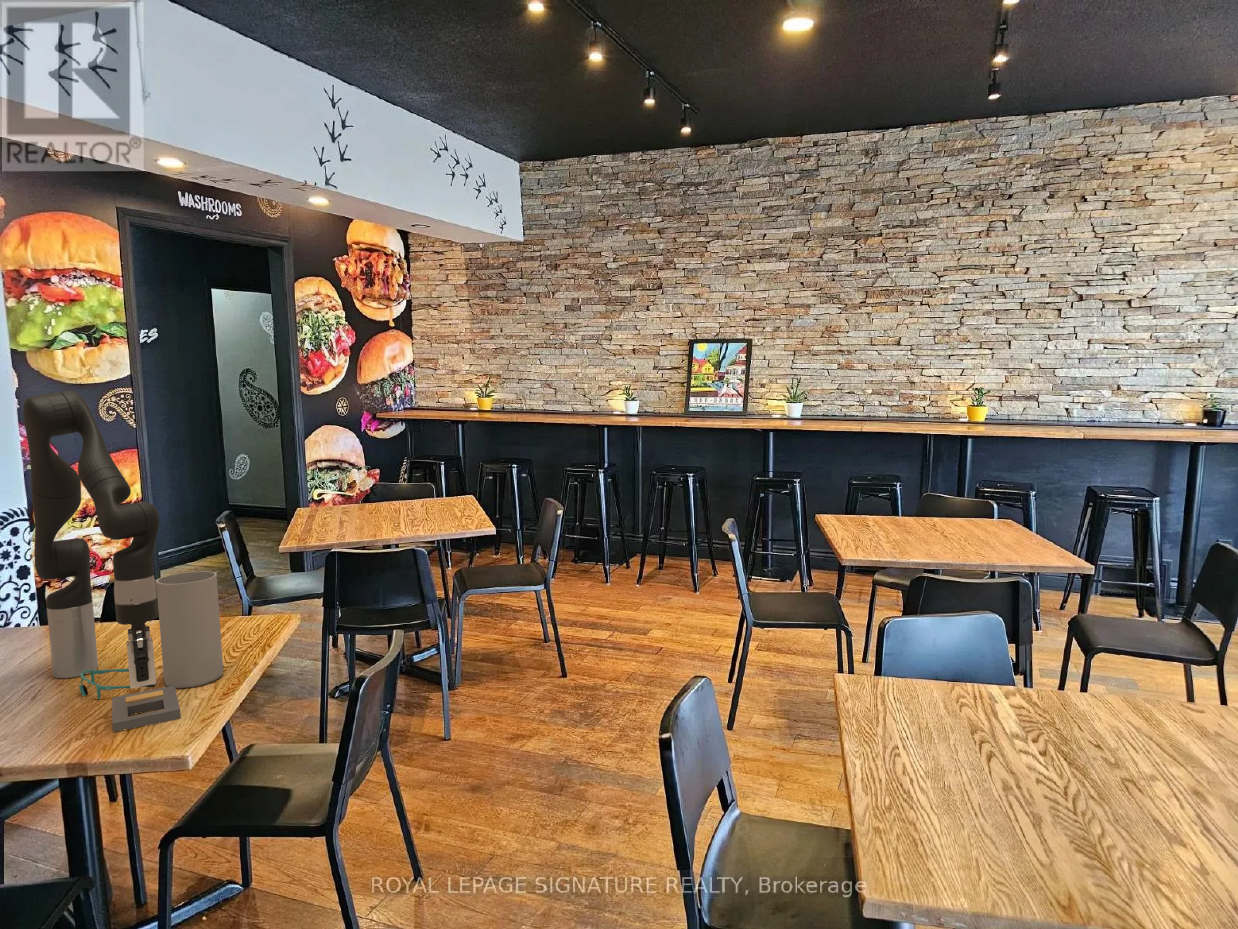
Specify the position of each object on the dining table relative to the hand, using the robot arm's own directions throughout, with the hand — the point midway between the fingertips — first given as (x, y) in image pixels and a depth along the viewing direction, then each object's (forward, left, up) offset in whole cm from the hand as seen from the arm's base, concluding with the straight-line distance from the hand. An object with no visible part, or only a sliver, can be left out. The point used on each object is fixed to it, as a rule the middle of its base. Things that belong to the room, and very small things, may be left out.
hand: (142, 677), depth 163 cm
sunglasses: (-24, -5, -10) cm, 26 cm away
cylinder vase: (-19, +11, -9) cm, 23 cm away
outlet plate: (-3, 0, -9) cm, 9 cm away
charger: (0, 0, -1) cm, 1 cm away
